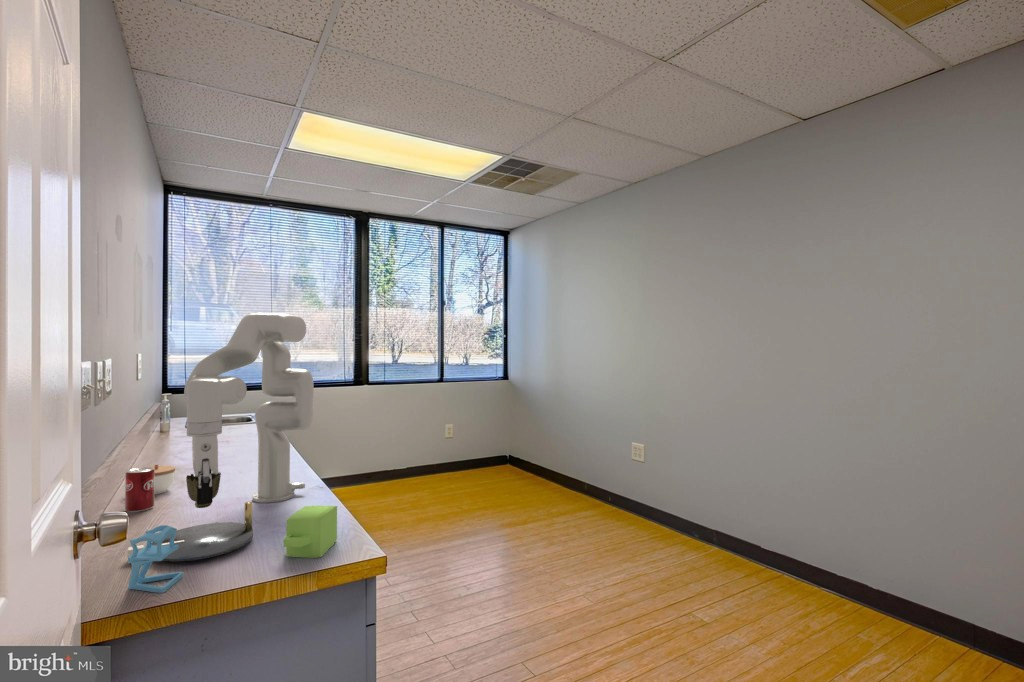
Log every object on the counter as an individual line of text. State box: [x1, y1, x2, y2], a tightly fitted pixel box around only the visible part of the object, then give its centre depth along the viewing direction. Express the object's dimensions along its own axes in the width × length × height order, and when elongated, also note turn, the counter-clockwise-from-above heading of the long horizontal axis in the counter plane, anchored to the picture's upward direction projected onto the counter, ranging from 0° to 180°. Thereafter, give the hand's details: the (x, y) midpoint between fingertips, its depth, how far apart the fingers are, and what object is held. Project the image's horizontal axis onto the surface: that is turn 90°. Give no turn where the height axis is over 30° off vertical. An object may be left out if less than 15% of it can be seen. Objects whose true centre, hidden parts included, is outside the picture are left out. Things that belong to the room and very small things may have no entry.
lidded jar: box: [150, 463, 176, 495], centre depth 173 cm, size 11×11×9 cm
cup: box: [185, 471, 222, 509], centre depth 126 cm, size 8×7×8 cm
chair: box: [127, 524, 184, 594], centre depth 107 cm, size 8×8×12 cm
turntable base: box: [127, 544, 145, 564], centre depth 124 cm, size 22×14×3 cm, turn 125°
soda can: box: [124, 466, 155, 513], centre depth 156 cm, size 7×7×12 cm
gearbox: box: [282, 505, 338, 559], centre depth 127 cm, size 18×10×10 cm, turn 178°
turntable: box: [152, 501, 254, 562], centre depth 126 cm, size 22×22×8 cm
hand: (203, 499), depth 126 cm, fingers closed on cup, 7 cm apart
